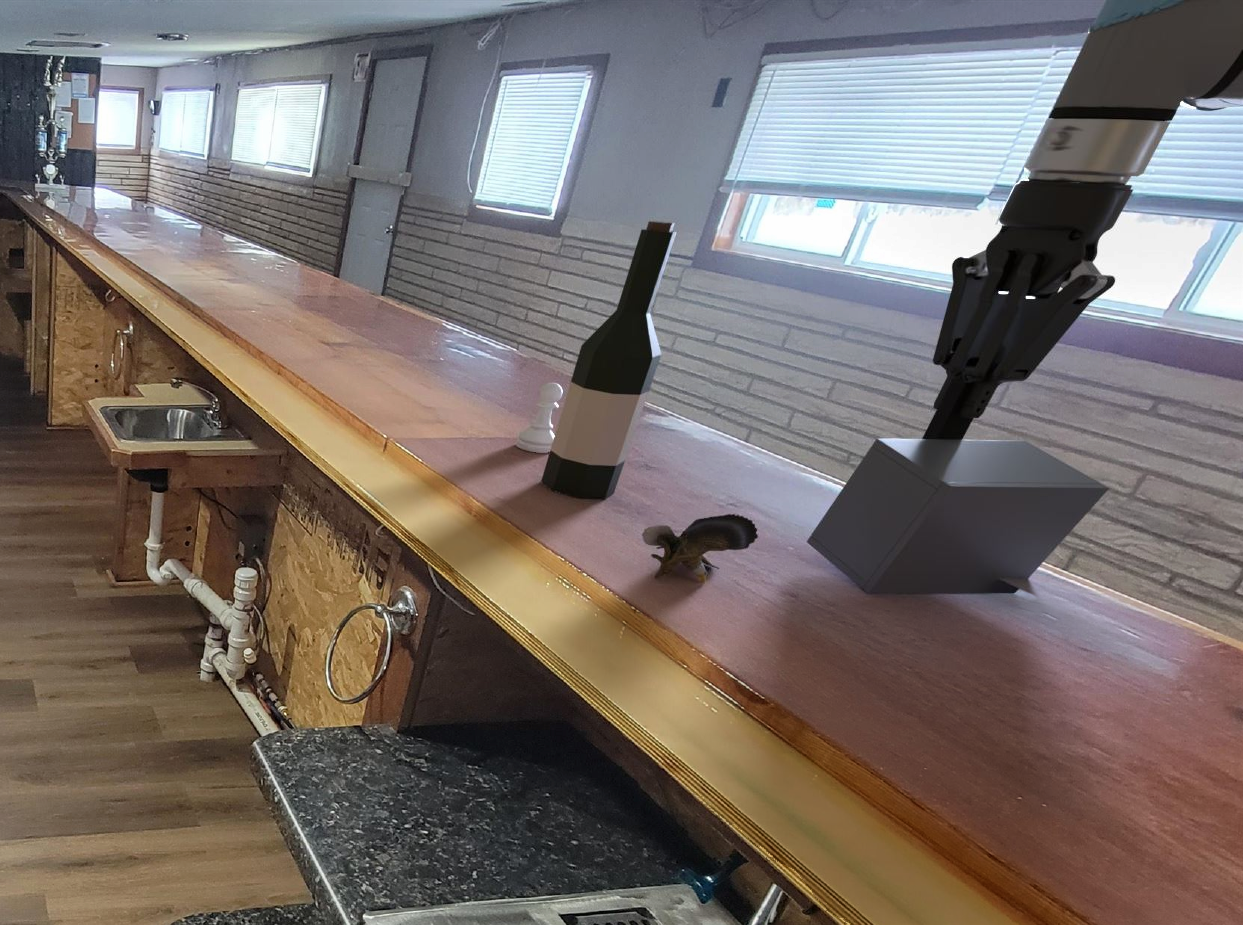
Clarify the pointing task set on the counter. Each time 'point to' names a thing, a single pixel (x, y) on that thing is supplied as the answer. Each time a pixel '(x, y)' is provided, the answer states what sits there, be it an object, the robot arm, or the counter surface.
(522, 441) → the chess pawn
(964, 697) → the counter surface
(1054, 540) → the grey cardboard box
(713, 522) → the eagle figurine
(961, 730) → the counter surface
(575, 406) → the wine bottle
